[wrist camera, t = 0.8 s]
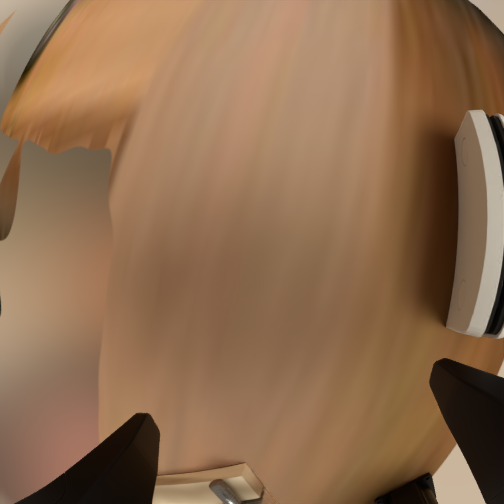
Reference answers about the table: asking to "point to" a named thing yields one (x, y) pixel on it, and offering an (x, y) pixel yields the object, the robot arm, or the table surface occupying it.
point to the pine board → (206, 486)
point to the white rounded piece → (479, 228)
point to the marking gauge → (231, 500)
